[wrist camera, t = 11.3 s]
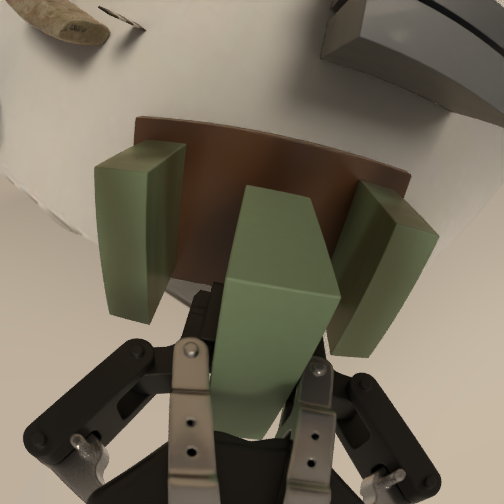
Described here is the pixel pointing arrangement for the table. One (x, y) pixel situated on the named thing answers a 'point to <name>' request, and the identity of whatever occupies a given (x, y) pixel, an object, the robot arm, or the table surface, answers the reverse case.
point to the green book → (269, 310)
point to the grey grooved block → (426, 49)
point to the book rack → (227, 213)
